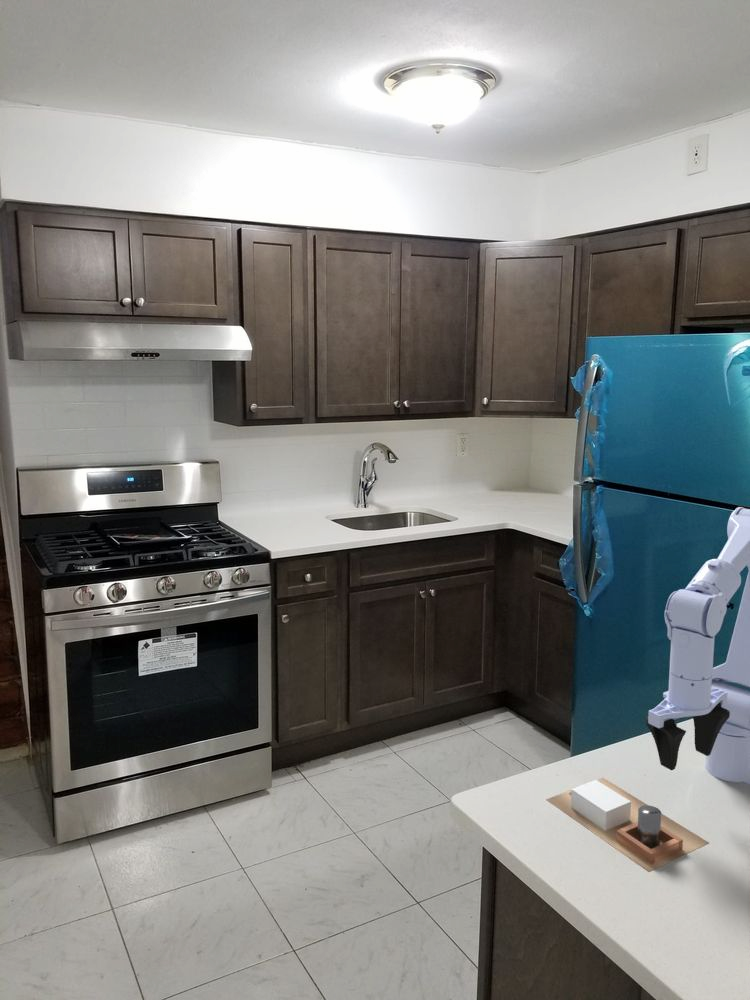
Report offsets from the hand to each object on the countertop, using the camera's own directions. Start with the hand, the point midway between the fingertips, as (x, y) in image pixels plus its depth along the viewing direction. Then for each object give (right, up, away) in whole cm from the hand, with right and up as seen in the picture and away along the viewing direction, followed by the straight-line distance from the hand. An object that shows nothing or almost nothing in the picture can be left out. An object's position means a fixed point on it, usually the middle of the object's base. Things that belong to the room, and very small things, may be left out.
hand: (685, 759), depth 117 cm
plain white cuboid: (-12, -9, +1) cm, 15 cm away
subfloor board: (-9, -10, 0) cm, 13 cm away
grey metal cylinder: (-7, -10, -6) cm, 14 cm away
